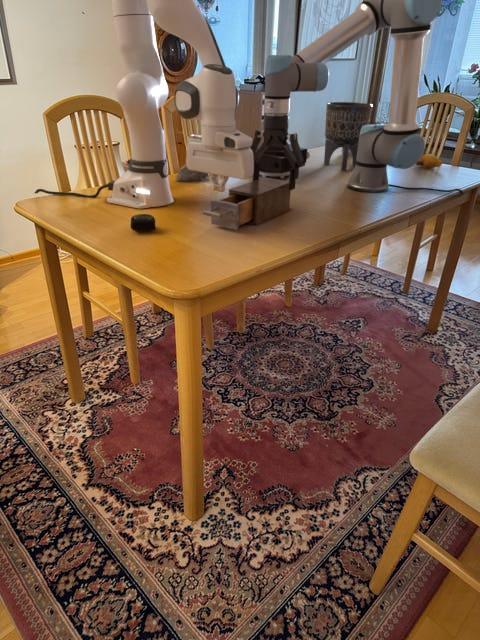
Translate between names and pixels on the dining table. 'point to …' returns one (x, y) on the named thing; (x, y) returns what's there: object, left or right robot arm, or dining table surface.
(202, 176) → the rock
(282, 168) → the mechanical component
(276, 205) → the cabinet
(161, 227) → the dining table surface
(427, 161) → the toy
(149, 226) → the tape measure
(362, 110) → the planter
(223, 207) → the drawer
